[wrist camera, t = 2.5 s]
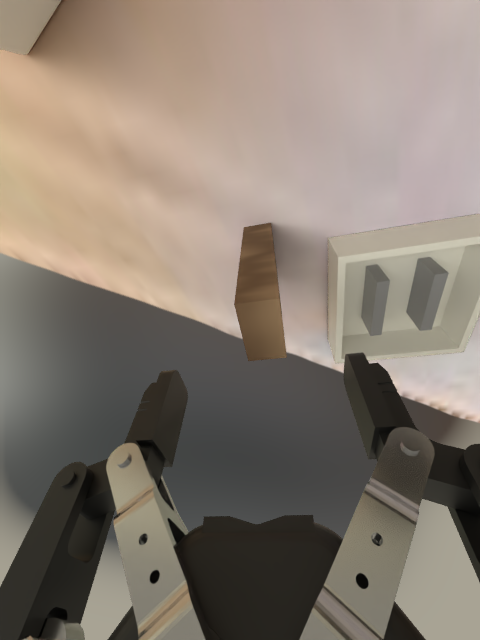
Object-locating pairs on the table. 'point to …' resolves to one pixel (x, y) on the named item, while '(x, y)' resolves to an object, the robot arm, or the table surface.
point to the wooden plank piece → (259, 296)
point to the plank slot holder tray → (404, 289)
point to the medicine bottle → (23, 23)
